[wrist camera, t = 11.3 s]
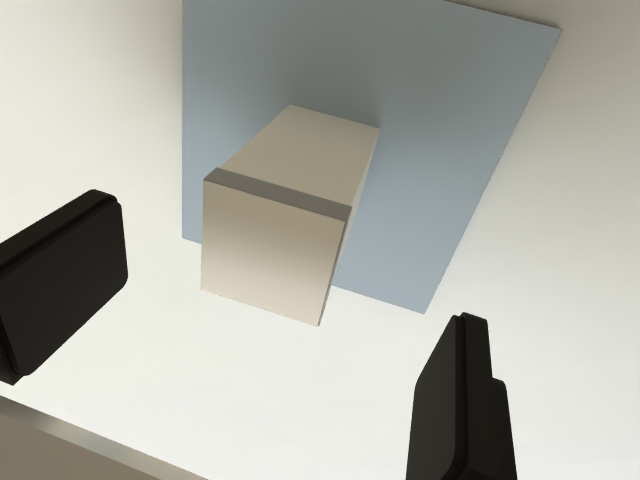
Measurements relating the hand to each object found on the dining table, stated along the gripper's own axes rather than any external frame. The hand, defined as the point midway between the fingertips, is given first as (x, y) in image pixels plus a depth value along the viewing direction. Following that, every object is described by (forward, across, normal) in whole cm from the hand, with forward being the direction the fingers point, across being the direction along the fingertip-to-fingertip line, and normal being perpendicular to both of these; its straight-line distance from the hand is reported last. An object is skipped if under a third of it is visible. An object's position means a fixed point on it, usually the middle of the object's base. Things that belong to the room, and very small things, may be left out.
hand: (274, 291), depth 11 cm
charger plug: (+9, +1, 0) cm, 9 cm away
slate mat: (+10, +1, 0) cm, 10 cm away
